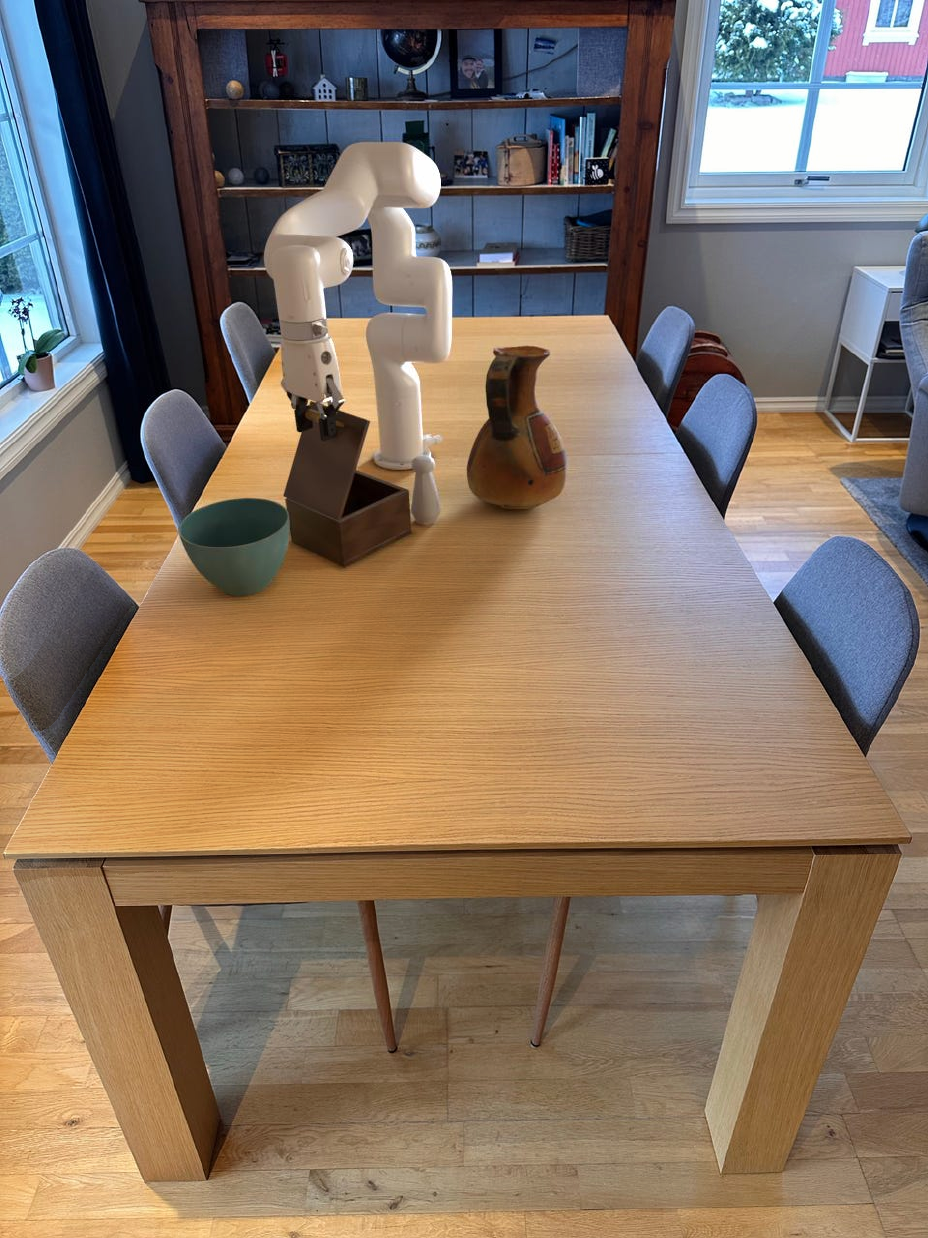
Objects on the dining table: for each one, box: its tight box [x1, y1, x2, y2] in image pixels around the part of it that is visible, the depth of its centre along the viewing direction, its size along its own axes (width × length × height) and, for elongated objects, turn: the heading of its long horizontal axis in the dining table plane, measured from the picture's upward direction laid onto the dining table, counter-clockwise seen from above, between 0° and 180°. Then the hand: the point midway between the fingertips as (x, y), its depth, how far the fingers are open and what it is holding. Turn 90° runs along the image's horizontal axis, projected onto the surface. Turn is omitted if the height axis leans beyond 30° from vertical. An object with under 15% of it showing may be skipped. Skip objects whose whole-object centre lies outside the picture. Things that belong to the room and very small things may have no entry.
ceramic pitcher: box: [466, 345, 568, 510], centre depth 178 cm, size 20×20×30 cm
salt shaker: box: [410, 456, 442, 526], centre depth 175 cm, size 6×6×13 cm
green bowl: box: [177, 497, 290, 597], centre depth 157 cm, size 18×18×12 cm
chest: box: [284, 469, 413, 568], centre depth 171 cm, size 17×15×9 cm
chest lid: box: [282, 400, 371, 520], centre depth 160 cm, size 18×15×5 cm
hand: (316, 433), depth 158 cm, fingers closed on chest lid, 5 cm apart
